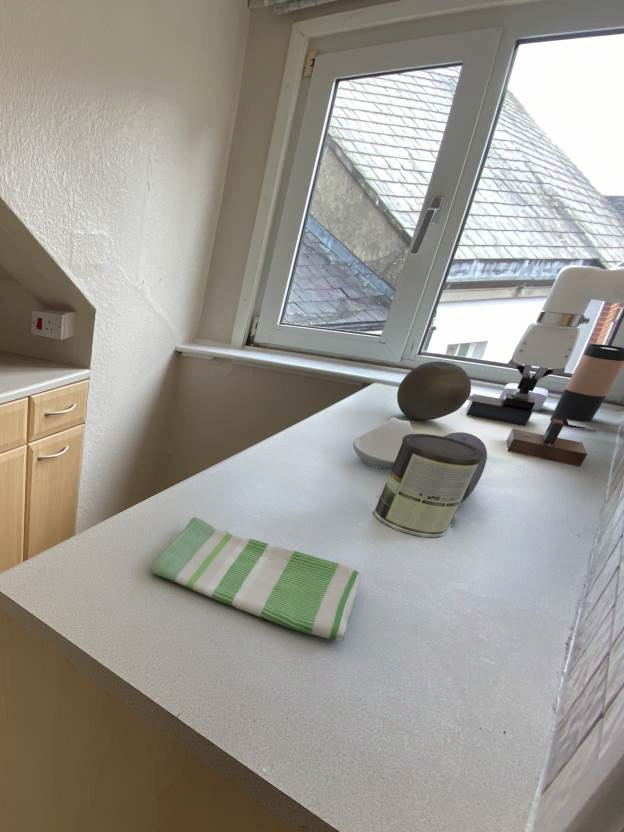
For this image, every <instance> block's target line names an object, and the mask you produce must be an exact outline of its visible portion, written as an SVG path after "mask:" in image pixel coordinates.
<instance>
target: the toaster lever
mask: <svg viewBox="0 0 624 832" xmlns="http://www.w3.org/2000/svg"><path fill="white" fill-rule="evenodd" d="M529 396H530V393H528V394H525V393H519V391H516V390H515V392H514V394H513V396H512V398H516V399H522V400H528V398H529Z"/></svg>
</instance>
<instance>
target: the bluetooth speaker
mask: <svg viewBox="0 0 624 832" xmlns="http://www.w3.org/2000/svg"><path fill="white" fill-rule="evenodd" d="M442 437H447V438H451V439H455V440H458V441H462V442H465V443H467V444H470V445H472V446H474V447H476V448H478V449H479V450H481V451H482V452H483V453H484V457H483V459H482V460H481V461H480V463H479V465H478V467H477V469H476V471H475V473H474V475H473V477H472V479H471V481H470V483H469V486H468V488H467V490H466V492H465V494H464V496H463V498H462V500H461V502H460V504H462V503H463V502H464V501H466V499H468V498H469V497H470V495H471V494H472V493H473V492H474V490H475V488H476V486H477V485H478V483H479V481H480V479H481V478H482V475H483V473H484V470H485V468H486V464H487V459H488V451H487V447H486V445H485V443H484V441H482V440H481V438H479V437H477V436H476V435H474V434H471V433H468V432H461V431H460V432H451V433H448V434H445V435H442Z"/></svg>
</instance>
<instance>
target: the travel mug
mask: <svg viewBox="0 0 624 832" xmlns="http://www.w3.org/2000/svg"><path fill="white" fill-rule="evenodd" d="M623 367H624V347H622V346H615V345H610V344H609V345H608V344H601V343H589V344H588V345H587V347H586V349H585V351H584V353H583V354H582V356H581V358H580V360H579V362H578V363H577V366H576V368H575V370H574V371H573V373H572V375H571V376H570V379H568V382H567V384H566V386H565V387H564V389H563V392H562V393H561V396H560V398H559V400H558V402H557V404H556V406H555V408H554V409H553V412H552V415H551V416H550V419H549V420H550V422H551V421H552V419H553V418H554V419H559V420H562V421H563V424H564V426H563V427H569V428H576V429H586V427H585V426H579V425H574V424H569V421H568V420H570V421H574V422H575V421H577V422H585V423H586V422H587V423H589V422H592V421H593V419H594V417H595V416H596V414H597V412H598V411H599V409H600V407H601V406H602V404H603V402H604V401H605V399H606V397H607V396H608V394H609V393H610V390H611V389H612V387H613V385H614V383H615V381H616V380H617V378H618V376H619V374H620V372H621V371H622V369H623Z"/></svg>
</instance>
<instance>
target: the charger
mask: <svg viewBox="0 0 624 832" xmlns="http://www.w3.org/2000/svg"><path fill="white" fill-rule="evenodd" d="M518 385H519V383H516V382H515V383H514V382H509V383H507V384H505V387H504V388H503V390H502V392H501V393H500V396H499V399H503V398H504V396H505V393H507V394H514V392H515V390H516V391H519V390H520V389H517V387H518ZM529 393H530V396H529V397H531V398H534V400H535V405H534V406H533V408H532V411H541V410H542V408H543V406H544V404H545V402H546V400H547V399H548V395H549V390H548V389H547V388H543V387H537V386H535V388H534V390H533V391H529Z"/></svg>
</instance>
